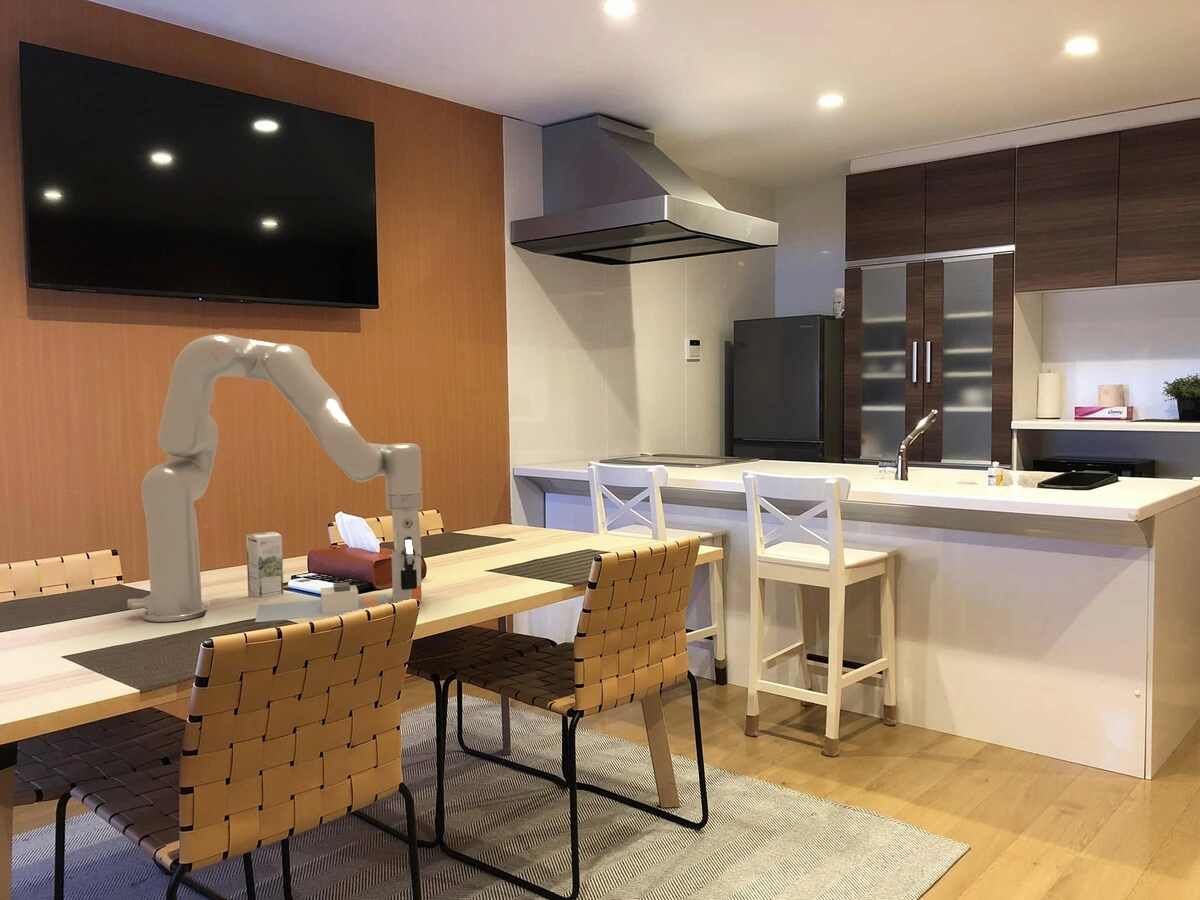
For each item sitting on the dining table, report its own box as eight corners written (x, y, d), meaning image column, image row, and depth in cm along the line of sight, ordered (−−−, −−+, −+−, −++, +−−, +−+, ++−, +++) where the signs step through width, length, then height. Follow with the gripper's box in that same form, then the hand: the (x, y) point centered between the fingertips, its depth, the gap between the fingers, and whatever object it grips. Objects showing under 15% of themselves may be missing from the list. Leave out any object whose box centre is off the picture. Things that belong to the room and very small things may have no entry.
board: (255, 628, 179) (255, 622, 179) (259, 610, 193) (258, 604, 193) (392, 615, 187) (392, 609, 187) (386, 599, 201) (385, 594, 201)
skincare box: (411, 608, 193) (409, 551, 192) (392, 607, 194) (390, 551, 193) (422, 601, 199) (421, 546, 198) (404, 601, 199) (402, 546, 199)
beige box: (322, 614, 184) (321, 589, 184) (321, 607, 190) (320, 583, 190) (358, 610, 187) (357, 586, 186) (356, 604, 192) (355, 580, 192)
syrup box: (272, 594, 209) (270, 530, 208) (284, 598, 204) (281, 533, 203) (248, 598, 205) (245, 533, 204) (259, 602, 200) (256, 536, 199)
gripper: (427, 505, 187) (430, 592, 189) (417, 496, 204) (420, 575, 205) (389, 508, 185) (392, 595, 186) (382, 498, 202) (385, 578, 203)
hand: (407, 584), depth 196 cm, fingers closed on skincare box, 7 cm apart
